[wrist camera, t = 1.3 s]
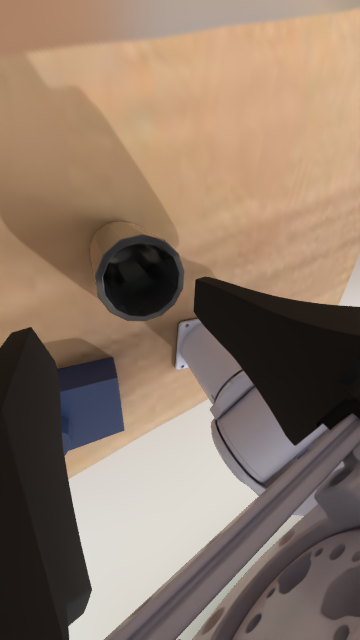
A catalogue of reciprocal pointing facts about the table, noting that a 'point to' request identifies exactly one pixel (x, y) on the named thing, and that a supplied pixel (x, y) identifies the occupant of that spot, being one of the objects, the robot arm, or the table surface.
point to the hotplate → (89, 403)
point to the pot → (135, 271)
